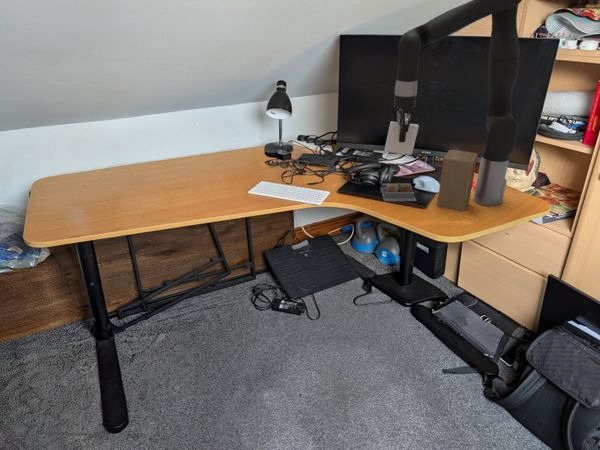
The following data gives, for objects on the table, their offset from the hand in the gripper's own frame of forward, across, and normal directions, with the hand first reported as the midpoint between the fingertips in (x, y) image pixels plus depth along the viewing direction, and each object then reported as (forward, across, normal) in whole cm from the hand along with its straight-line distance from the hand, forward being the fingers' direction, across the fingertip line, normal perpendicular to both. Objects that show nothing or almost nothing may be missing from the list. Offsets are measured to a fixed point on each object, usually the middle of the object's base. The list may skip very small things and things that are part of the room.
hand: (401, 140), depth 168 cm
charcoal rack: (+22, -3, 0) cm, 22 cm away
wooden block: (+22, -11, -19) cm, 31 cm away
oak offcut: (+20, -4, +3) cm, 21 cm away
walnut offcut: (+20, -4, -2) cm, 21 cm away
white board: (+4, 0, +1) cm, 5 cm away
